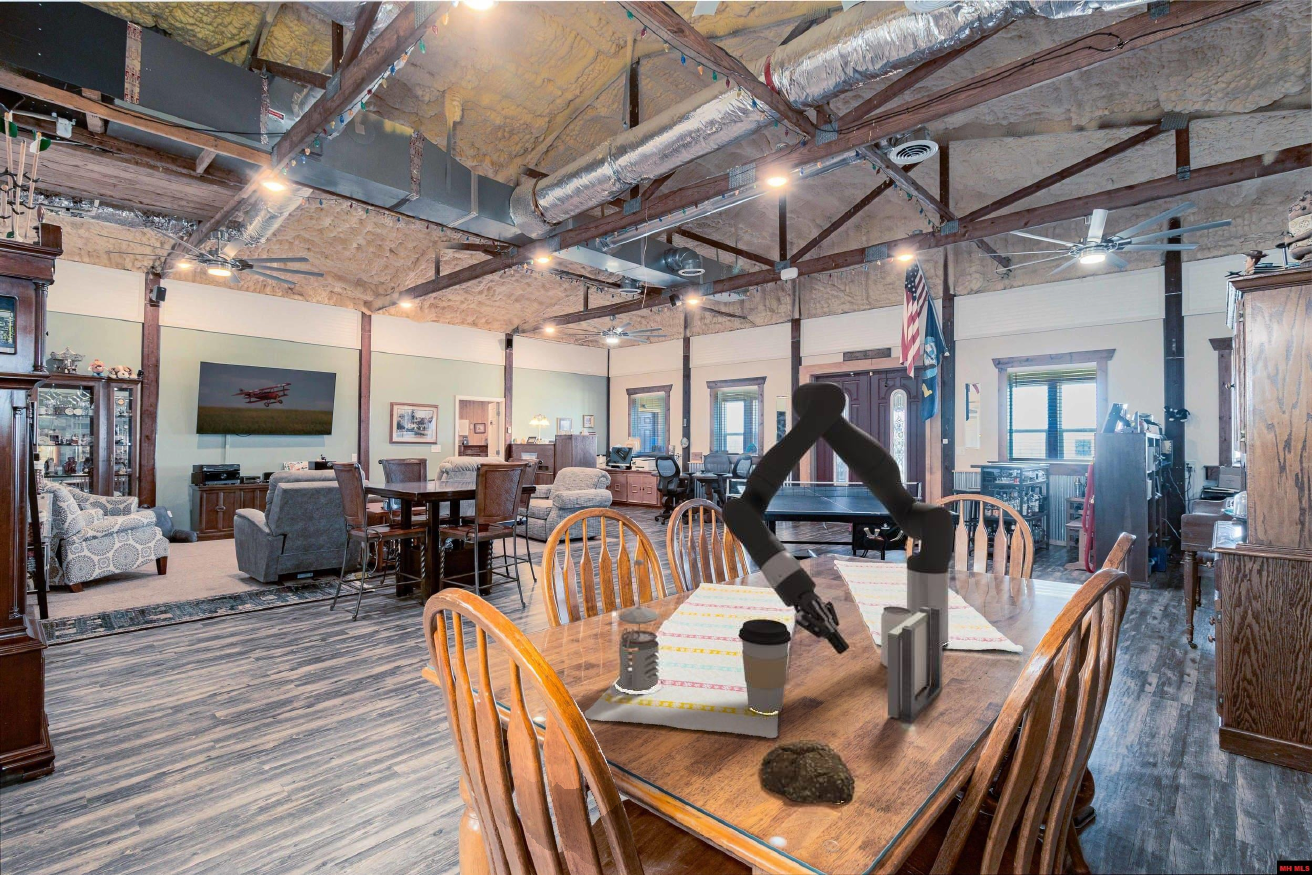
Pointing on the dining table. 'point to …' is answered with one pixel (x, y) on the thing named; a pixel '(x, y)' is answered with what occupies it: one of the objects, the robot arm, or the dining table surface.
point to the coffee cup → (765, 663)
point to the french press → (647, 646)
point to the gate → (921, 658)
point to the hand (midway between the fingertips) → (844, 650)
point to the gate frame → (909, 704)
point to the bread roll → (807, 773)
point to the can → (891, 626)
